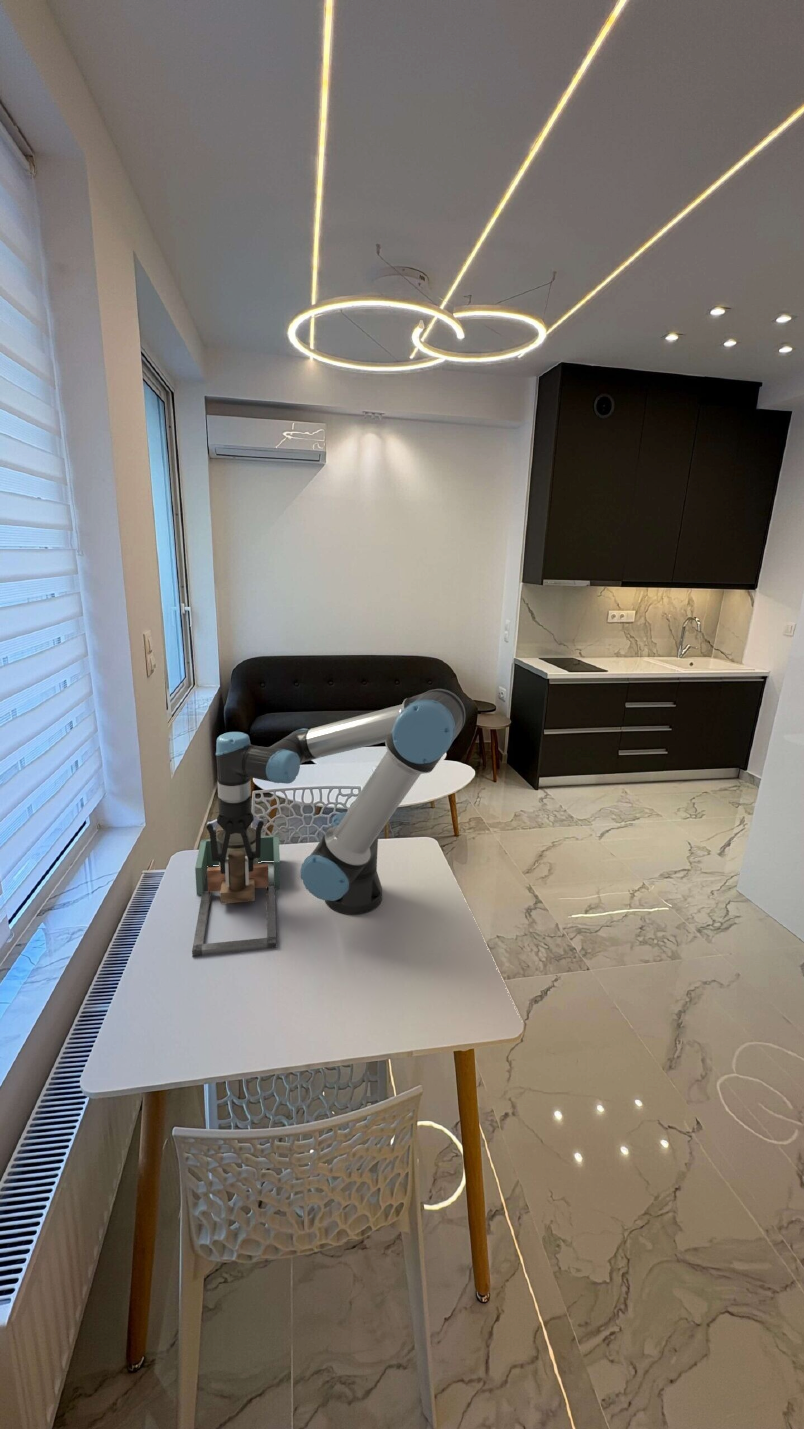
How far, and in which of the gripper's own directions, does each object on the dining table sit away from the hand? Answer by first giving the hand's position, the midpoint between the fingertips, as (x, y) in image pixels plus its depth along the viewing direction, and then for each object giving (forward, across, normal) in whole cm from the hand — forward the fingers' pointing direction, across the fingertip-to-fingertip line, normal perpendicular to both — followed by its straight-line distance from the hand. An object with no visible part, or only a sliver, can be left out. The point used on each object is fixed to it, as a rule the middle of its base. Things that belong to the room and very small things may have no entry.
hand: (237, 883), depth 146 cm
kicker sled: (+4, 0, -2) cm, 4 cm away
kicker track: (+6, 0, +7) cm, 9 cm away
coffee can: (+6, 0, -10) cm, 12 cm away
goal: (+6, 0, -13) cm, 14 cm away
